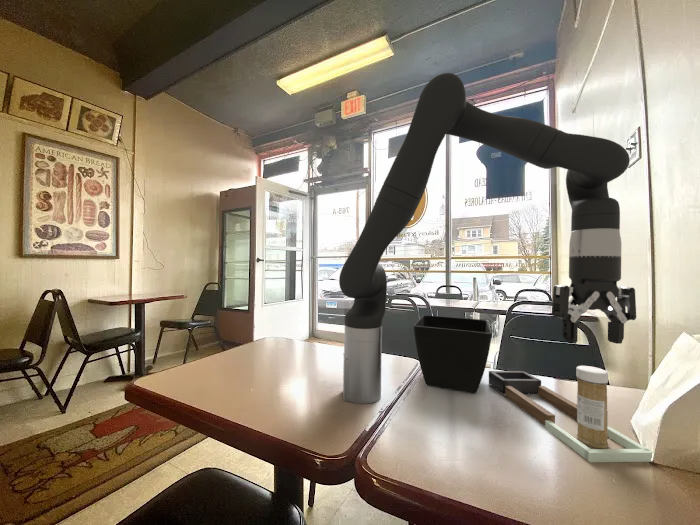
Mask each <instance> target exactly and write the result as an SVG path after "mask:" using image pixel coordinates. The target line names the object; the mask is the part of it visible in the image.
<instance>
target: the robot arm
mask: <svg viewBox="0 0 700 525" xmlns="http://www.w3.org/2000/svg"><path fill="white" fill-rule="evenodd" d="M446 135H448V136H453V137H457V138H462V139H466V140H470V141H473V142H476V143H479V144H482V145H485V146H487V147H491V148H492V149H496V150H497V151H500V152H502V153H505V154H507V155H510V156H512V157H514V158H515V159H516V158H517V159H519V160H520V161H523V162H527V163H529V164H531V165H533V166H535V167H538V168H541V169H544V170H545V169H546V170H549V169H554V168H560V169H564V170H567V171H566V176H565V185H566V191H567V196H568V201H569V205H570V208H571V218H570V219H571V225H570V231H571V232H570V239H569V245H568V246H569V248H568V277H569V279H570V280H571V282H570V286H569V285H562V284H555V285H554V286H553V292H552V303H551V315H552V316H553V317H555V318H559V319H560V320H561V321H562V336H563V338H564V341H566V342H570V343H575V344H576V343H577V342H578V331H579V330H578V326H579V325H578V322H577V321H578V320H579V318H580V317H581V316H582V315H584V314H586V312H588V310H589V311H594V310H595V311H596V310H599V311H601V312H602V313H604V315H605V316H606V317H607V319H608V320H609V321H607V341H608V342H609V343H613V344H622V343H623V341H624V338H625V335H624V334H625V324H626V323H627V322H628V321H630V320H631V321H635V320H636V319H637V304H636V303H637V302H636V289H635V288H634V287H631V286H630V287H629V286H618V284H617V283H618V282H619V281H621V279H622V237H621V231H620V230H621V226H620V225H621V209H620V202H619V201H618V200H617V199H616V198H613V197H610V195H609V189H608V184H609V183H610V182H612V181H614V180H616V179H618V178H619V177H620V176H622V175H623V174H624V173H625V172H626V170H627V169H628V168H629V166H630V161H631V160H630V154H629V152H628V151H627V149H626V148H624V146H622V145H621V144H619V143H617V142H616V141H613V140H610V139H607V138H603V137H598V136H597V137H596V136H593V135H592V136H591V135H584V134H577V133H576V134H575V133H569V132H565V131H563V130H561V129H558V128H555V127H554V126H553V127H552V126H550V125H548V124H544V123H542V122H539V121H536V120H533V119H529V118H524V117H518V116H510V115H502V114H498V113H493V112H489V111H487V110H484V109H482V108H480V107H478V106H475V105H474V104H472V103H470V102H469V101H468V100H467V91H466V87H465V84H464V82H463V81H462V79H461V78H460V77H459V76H458V75H456V74H455V73H451V72H443V73H440V74H438V75H436V76H434V77H433V78H431V80H429V81H428V83H427V84H426V85H425V86H424V87H423V89H422V91H421V93H420V94H419V99H418V101H417V104H416V106H415V110H414V113H413V115H412V120H411V122H410V125H409V128H408V130H407V133H406V136H405V138H404V140H403V141H402V142H403V143H402V144H401V147H400V148H399V150H398V153H397V154H396V156H395V158H394V160H393V162H392V165H391V166H390V169H389V171H388V173H387V175H386V177H385V179H384V182H383V184H382V186H381V188H380V190H379V192H378V194H377V197H376V200H375V202H374V205H373V207H372V210H371V211H370V214H369V216H368V217H367V220H366V222H365V224H364V227H363V229H362V230H361V234H360V235H359V237H358V239H357V241H356V243H355V245H354V246H353V248H352V249H351V251H350V253H349V255H348V257H347V258H346V260H345V262H344V264H343V265H342V268H341V270H340V273H339V278H338V282H339V289H340V291H341V292H342V294H343V295H344V296H346V297H347V298H350V299H353V300H354V301H353V304H352V306H351V307H350V309H349V310H348V311H347V312H346V313H345V315H344V344H343V345H344V346H343V372H342V373H343V375H342V381H343V382H342V383H343V384H342V395H343V396H342V398H343V401H345V402H346V401H348V402H351V403H355V404H361V405H362V404H372V403H375V402H377V401H379V400H380V399H381V398H382V356H383V355H382V352H383V351H382V350H383V349H382V344H383V341H382V340H383V336H382V335H383V320H384V316H385V313H386V308H387V307H386V306H387V291H388V290H387V289H388V279H387V274H386V271H385V268H384V267H383V266H382V265H381V264H380V261H381V258H382V257H383V255H384V253H385V251H386V249H387V248H388V247H389V246H390V244H391V243H392V242H393V241H394V240H395V239H396V238H397V237H398V236H399V235H400V234H401V232H402V231H403V230H405V229H406V227H407V225H408V224H409V223H410V222H411V221H412V219H413V217H414V215H415V213H416V212H417V209H418V206H419V205H420V203H421V200H422V198H423V196H424V193H425V191H426V188H427V186H428V182H429V179H430V176H431V172H432V168H433V165H434V161H435V158H436V155H437V152H438V150H439V147H440V146H441V144H442V142H443V141H444V138H445V136H446ZM570 297H572V298H570ZM626 311H627V312H626Z"/></svg>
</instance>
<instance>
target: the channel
mask: <svg viewBox="0 0 700 525" xmlns="http://www.w3.org/2000/svg"><path fill="white" fill-rule="evenodd" d="M504 396H505V397H506V398H507V399H508V400H510V401H511V402H512V403H514V404H515V405H516V406H517V407H519V408H520V409H521V410H523V411H525V412H526V413H527V414H528V415H530V416H531V417H532V418H534V419H535V420H537V422H539V423H540V424H542V425H543V426H544V427H545V420H550V421H552V422H553V423H554V424H556V415H555V414H554V413H552V412H551V411H549V410H548V409H546V408H545V407H543V406H541V405H540V404H539V403H537V402H536V401H534V400H533V399H531V398H530V397H528V396H527V395H526V394H522V393H521V392H519V391H518V390H516V389H515V388H513V387H512V386H505V394H504ZM537 396H538V397H539V398H540V399H542V400H544V401H545V402H547V403H548V404H550V405H551V406H553V407H554V408H556V409H558V410H560V411H561V412H563V413H564V414H566V415H568V416H569V417H571V418H572V419H573V420H575V421H577V403H575V402H573V401H571V400H569V399H567V398H566V397H564V396H562V395H561V394H559V393H557V392H556V391H554V390H551V389H550V388H548V387H546V386H544V385H541V386H538V394H537Z"/></svg>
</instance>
